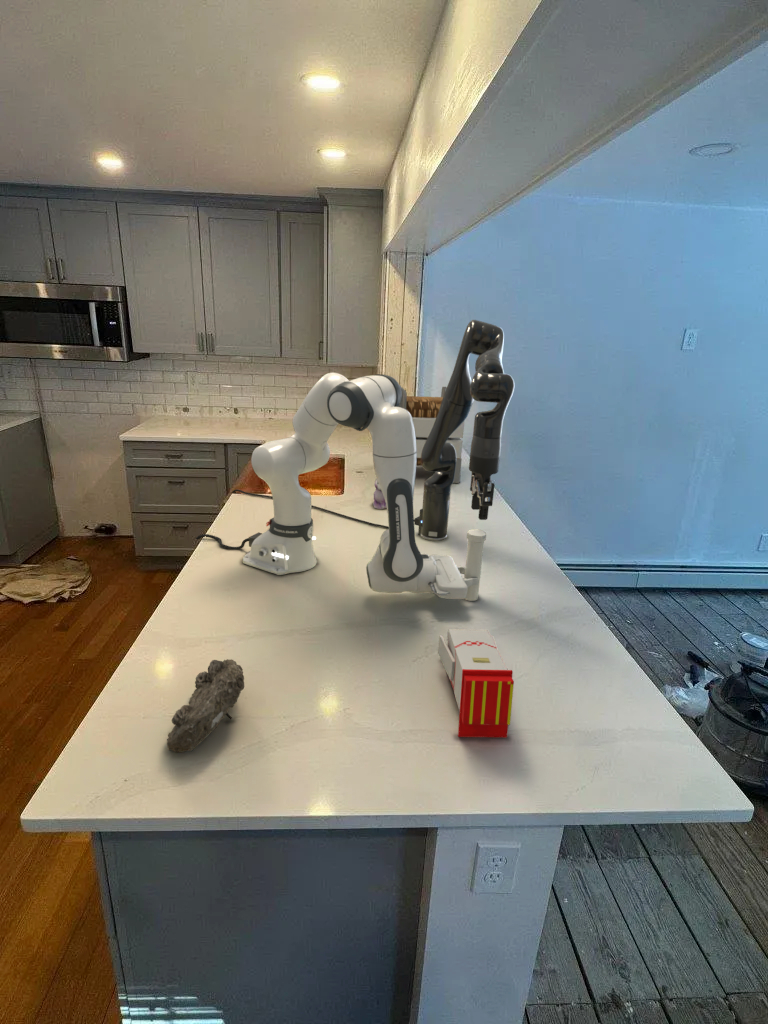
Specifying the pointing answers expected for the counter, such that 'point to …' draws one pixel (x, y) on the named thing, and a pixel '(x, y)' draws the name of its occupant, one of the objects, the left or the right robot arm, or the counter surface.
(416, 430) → the grey boxy piece
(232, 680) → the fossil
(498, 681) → the toy
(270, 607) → the counter surface
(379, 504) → the figurine
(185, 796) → the counter surface
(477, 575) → the slender white bottle
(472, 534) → the lid
